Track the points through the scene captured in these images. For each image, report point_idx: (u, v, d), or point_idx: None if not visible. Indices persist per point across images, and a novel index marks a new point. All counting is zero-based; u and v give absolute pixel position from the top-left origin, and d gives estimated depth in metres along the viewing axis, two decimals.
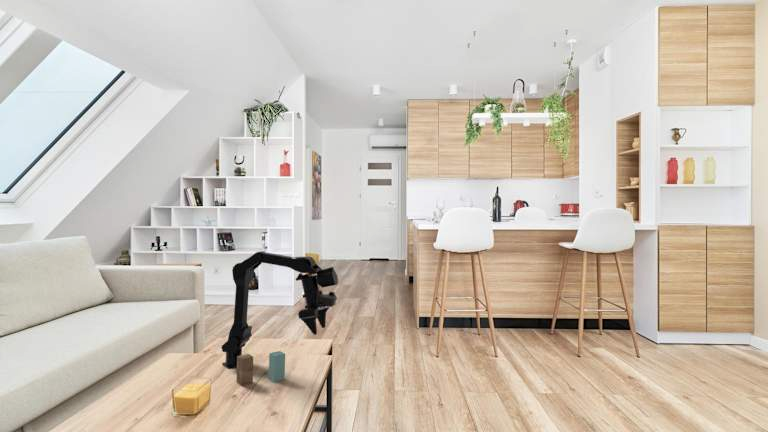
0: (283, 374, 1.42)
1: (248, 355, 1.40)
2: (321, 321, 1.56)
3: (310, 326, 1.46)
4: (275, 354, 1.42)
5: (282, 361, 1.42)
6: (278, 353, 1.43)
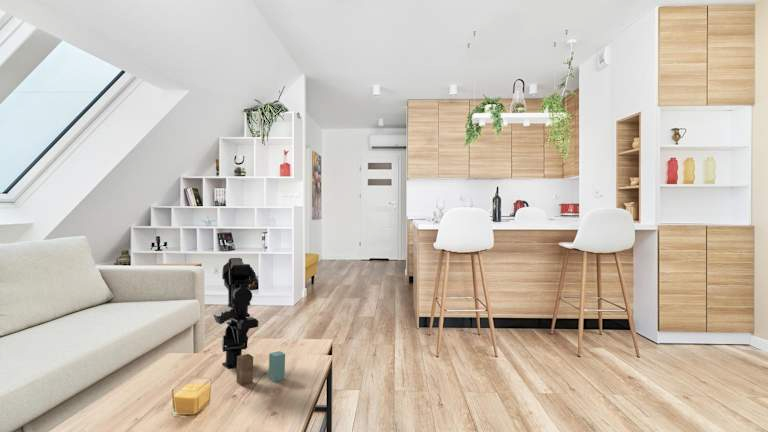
0: (283, 374, 1.42)
1: (248, 355, 1.40)
2: None
3: None
4: (275, 354, 1.42)
5: (282, 361, 1.42)
6: (278, 353, 1.43)
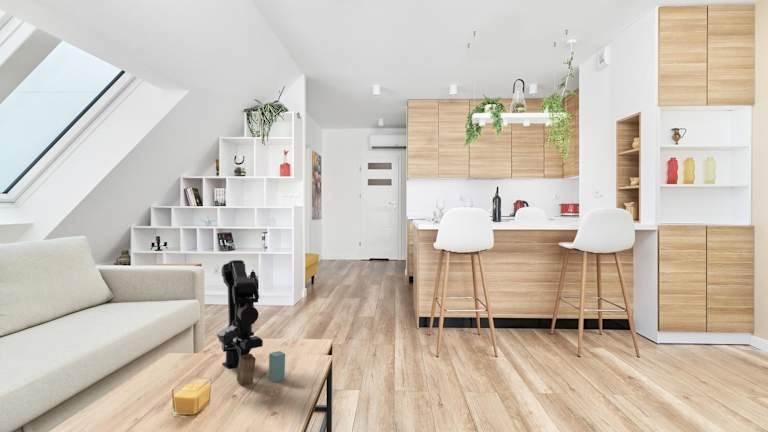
0: (283, 374, 1.42)
1: (250, 356, 1.39)
2: None
3: None
4: (275, 354, 1.42)
5: (282, 361, 1.42)
6: (278, 353, 1.43)
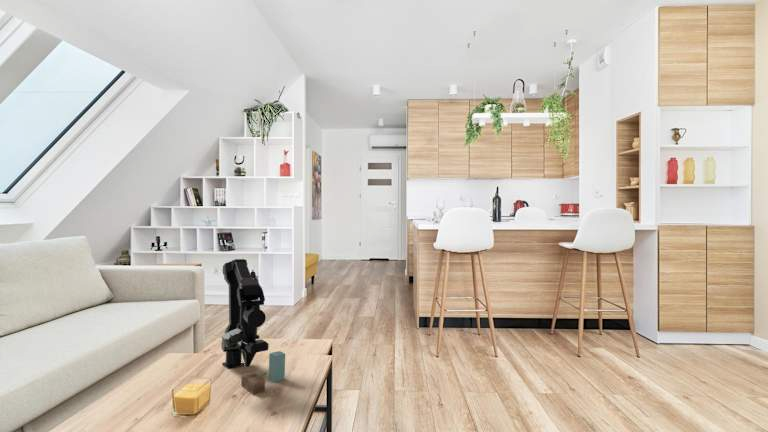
0: (283, 374, 1.42)
1: (262, 385, 1.32)
2: None
3: None
4: (275, 354, 1.42)
5: (282, 361, 1.42)
6: (278, 353, 1.43)
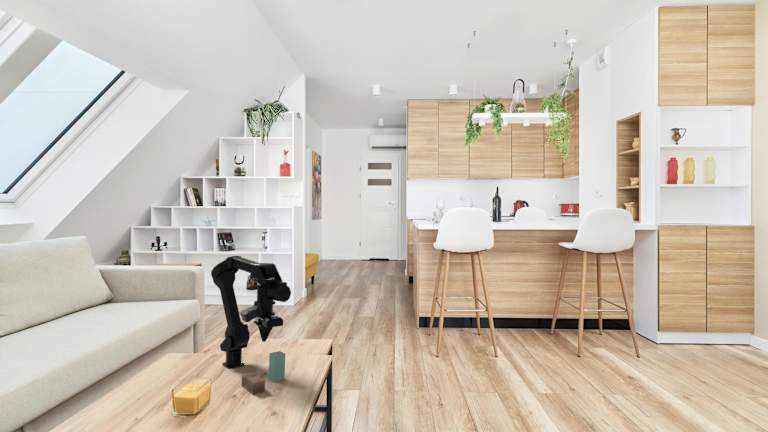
0: (283, 374, 1.42)
1: (262, 385, 1.32)
2: None
3: None
4: (275, 354, 1.42)
5: (282, 361, 1.42)
6: (278, 353, 1.43)
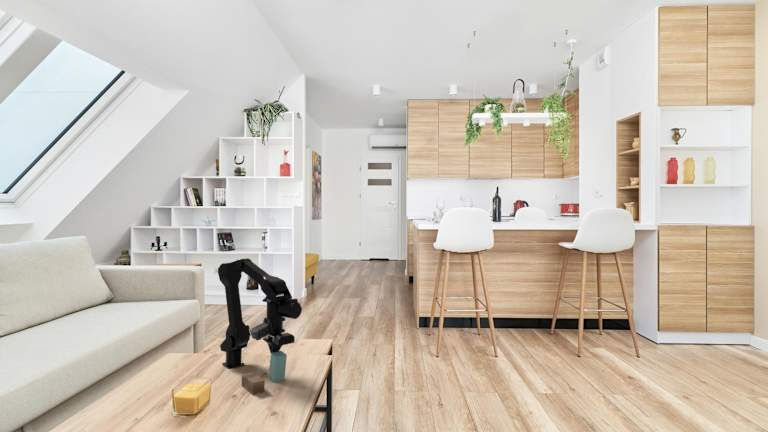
0: (283, 374, 1.42)
1: (262, 386, 1.32)
2: None
3: None
4: (276, 355, 1.41)
5: (283, 361, 1.42)
6: (279, 354, 1.42)
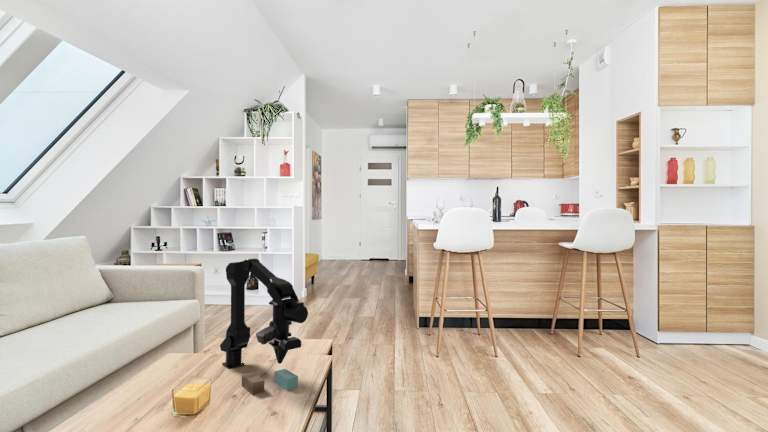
0: None
1: (262, 386, 1.32)
2: None
3: None
4: (290, 386, 1.34)
5: None
6: (292, 385, 1.35)
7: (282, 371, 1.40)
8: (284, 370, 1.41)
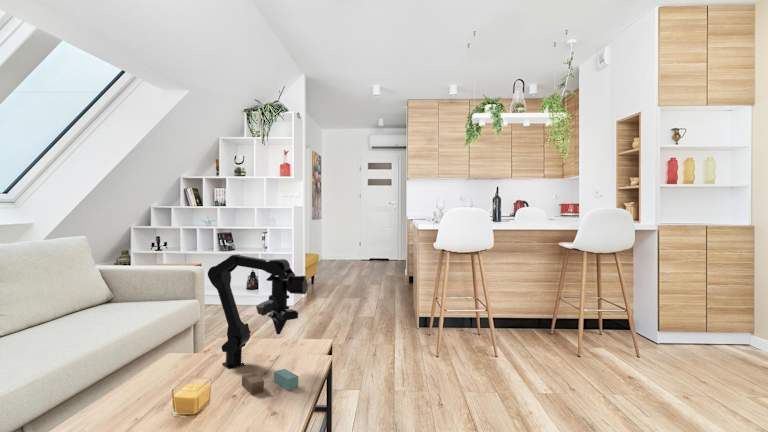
0: None
1: (261, 386, 1.32)
2: None
3: None
4: (290, 386, 1.34)
5: None
6: (293, 385, 1.35)
7: (282, 371, 1.40)
8: (284, 370, 1.41)
